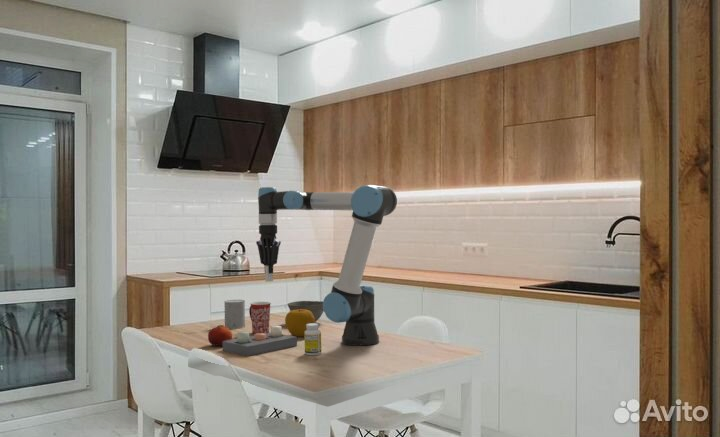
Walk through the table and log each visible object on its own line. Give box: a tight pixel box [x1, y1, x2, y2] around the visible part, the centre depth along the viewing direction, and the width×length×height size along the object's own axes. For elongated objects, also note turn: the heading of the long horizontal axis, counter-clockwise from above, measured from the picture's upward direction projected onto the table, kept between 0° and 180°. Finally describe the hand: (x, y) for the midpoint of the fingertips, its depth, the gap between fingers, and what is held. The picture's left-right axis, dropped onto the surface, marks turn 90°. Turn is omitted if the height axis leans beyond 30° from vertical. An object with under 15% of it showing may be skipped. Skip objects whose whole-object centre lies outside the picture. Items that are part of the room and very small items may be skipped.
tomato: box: [207, 324, 233, 347], centre depth 244 cm, size 9×9×8 cm
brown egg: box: [253, 333, 266, 341], centre depth 237 cm, size 4×4×4 cm
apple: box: [284, 309, 316, 338], centre depth 262 cm, size 13×13×11 cm
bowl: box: [286, 300, 324, 323], centre depth 293 cm, size 19×19×10 cm
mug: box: [248, 301, 272, 335], centre depth 270 cm, size 13×9×14 cm
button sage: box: [236, 331, 250, 344], centre depth 231 cm, size 4×4×4 cm
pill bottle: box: [303, 322, 322, 356], centre depth 225 cm, size 6×6×11 cm
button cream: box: [270, 325, 283, 338], centre depth 243 cm, size 4×4×4 cm
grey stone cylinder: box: [224, 299, 246, 330], centre depth 286 cm, size 10×10×12 cm
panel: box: [222, 331, 298, 357], centre depth 237 cm, size 16×24×4 cm, turn 137°
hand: (269, 281), depth 251 cm, fingers closed
